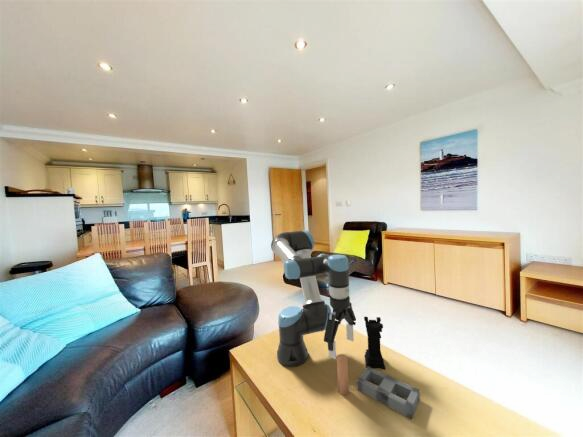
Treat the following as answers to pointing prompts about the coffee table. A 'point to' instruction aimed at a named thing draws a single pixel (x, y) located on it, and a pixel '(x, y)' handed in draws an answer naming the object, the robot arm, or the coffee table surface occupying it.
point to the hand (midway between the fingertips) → (341, 348)
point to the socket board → (389, 391)
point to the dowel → (342, 374)
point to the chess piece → (374, 344)
